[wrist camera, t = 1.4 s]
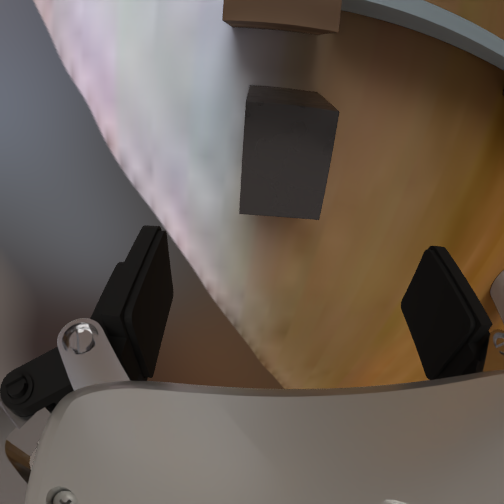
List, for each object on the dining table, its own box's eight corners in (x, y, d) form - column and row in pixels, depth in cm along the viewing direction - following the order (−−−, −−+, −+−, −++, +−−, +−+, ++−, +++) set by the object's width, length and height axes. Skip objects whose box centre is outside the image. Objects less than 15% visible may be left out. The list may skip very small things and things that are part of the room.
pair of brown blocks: (234, 2, 17) (224, -13, 11) (541, 97, 17) (584, 119, 12) (232, 27, 18) (222, 20, 13) (537, 114, 19) (579, 139, 13)
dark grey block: (249, 84, 21) (246, 101, 15) (317, 91, 21) (339, 111, 15) (244, 169, 25) (239, 213, 19) (305, 174, 25) (319, 219, 20)
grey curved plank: (327, -19, 15) (350, -38, 10) (514, 54, 15) (560, 68, 11) (325, 7, 16) (347, -5, 11) (511, 75, 17) (556, 92, 12)
